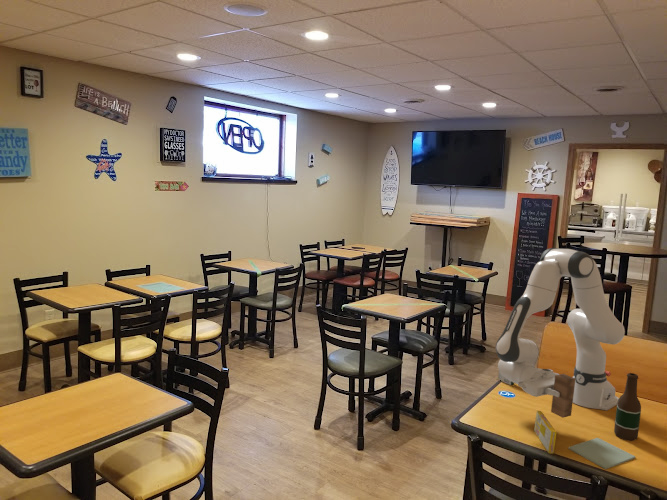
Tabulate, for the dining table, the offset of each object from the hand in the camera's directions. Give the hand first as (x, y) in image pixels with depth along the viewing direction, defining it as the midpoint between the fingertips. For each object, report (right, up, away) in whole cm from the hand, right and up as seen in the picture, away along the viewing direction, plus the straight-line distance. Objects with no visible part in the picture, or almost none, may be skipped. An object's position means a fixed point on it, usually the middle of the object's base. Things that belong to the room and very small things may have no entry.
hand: (565, 393), depth 183 cm
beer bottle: (+25, -17, +6) cm, 31 cm away
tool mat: (+9, -18, -7) cm, 22 cm away
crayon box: (-3, -10, +53) cm, 54 cm away
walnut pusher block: (-1, -8, +2) cm, 8 cm away
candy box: (-8, -17, -1) cm, 19 cm away
